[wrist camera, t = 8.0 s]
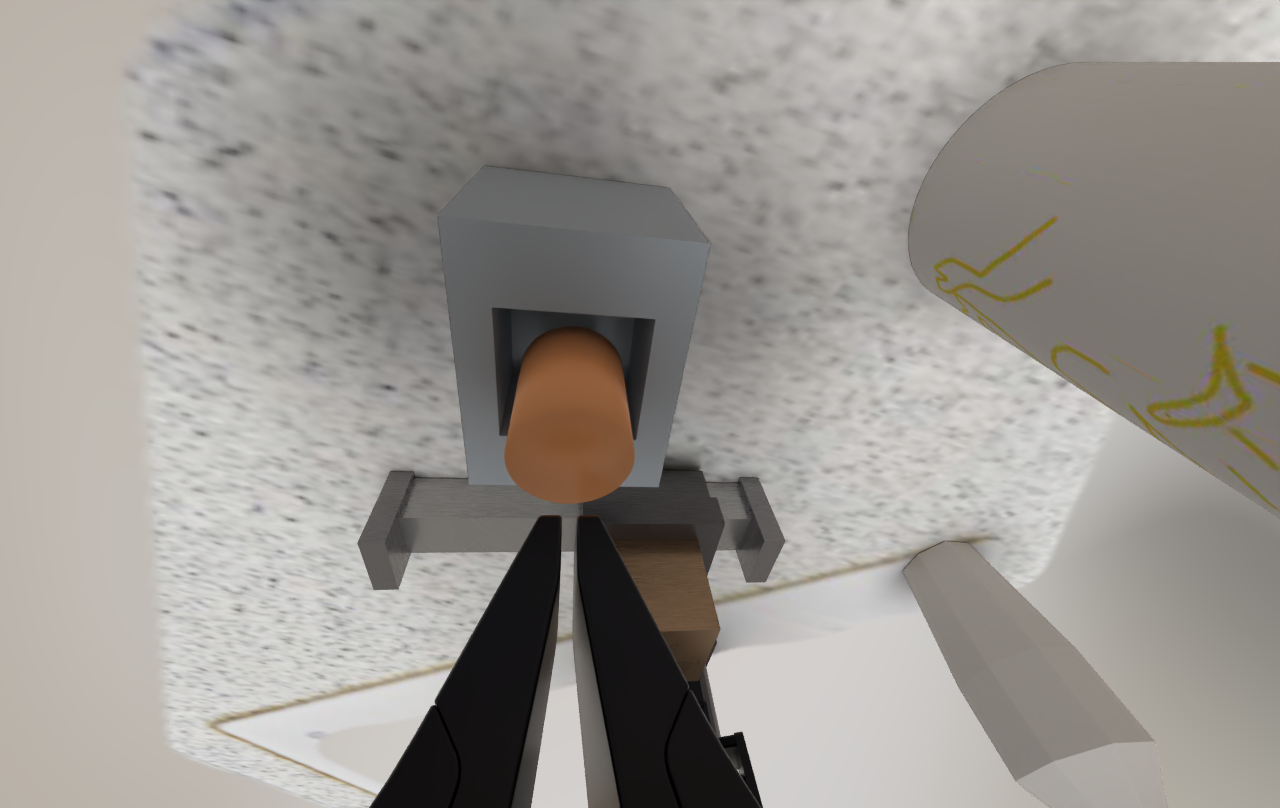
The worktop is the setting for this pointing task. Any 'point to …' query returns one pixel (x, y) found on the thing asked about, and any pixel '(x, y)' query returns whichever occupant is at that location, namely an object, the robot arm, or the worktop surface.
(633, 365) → the grey hollow block
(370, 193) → the worktop surface
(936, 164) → the cup
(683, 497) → the carriage
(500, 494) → the rail
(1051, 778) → the low poly bottle
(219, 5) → the worktop surface
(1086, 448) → the worktop surface
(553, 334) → the button
